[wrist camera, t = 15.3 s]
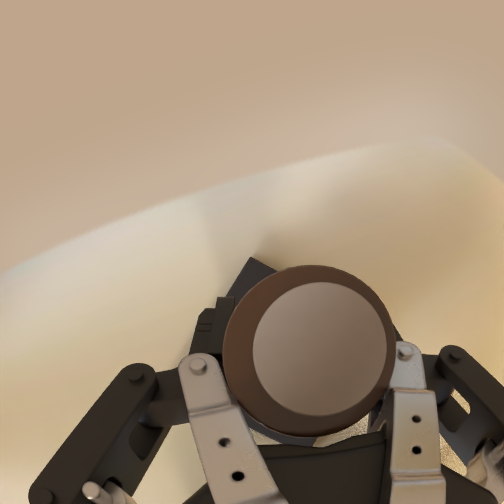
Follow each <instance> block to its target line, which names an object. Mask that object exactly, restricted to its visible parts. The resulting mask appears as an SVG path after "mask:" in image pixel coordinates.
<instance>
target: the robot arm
mask: <svg viewBox="0 0 504 504" xmlns="http://www.w3.org/2000/svg"><path fill="white" fill-rule="evenodd" d="M235 308H236V304H235V297H218V298H217V302H216V307H215V308H206V309H205V310H204V311H203V312H202V313H201V314H200V315H199V317H198V321H197V325H196V328H195V332H194V336H193V340H192V344H191V348H190V352H189V356H187V357H185V358H184V359H182V360H181V362H180V363H179V365H178V367H177V368H175V369H172V370H167V371H162V372H156V373H155V371H154V369H153V368H152V367H151V366H149V365H147V364H143V363H135V364H131V365H128V366H126V367H125V368H123V369H122V370H121V371H120V372H119V374H118V375H117V376H116V377H115V379H114V380H113V381H112V382H111V384H110V385H109V386H108V387H107V389H106V390H105V391H104V392H103V393H102V395H101V396H100V397H99V398H98V400H97V401H96V402H95V403H94V405H93V406H92V407H91V408H90V410H89V411H88V412H87V414H86V415H85V416H84V417H83V419H82V420H81V421H80V422H79V424H78V425H77V426H76V427H75V429H74V430H73V431H72V433H71V434H70V435H69V436H68V438H67V439H66V440H65V442H64V443H63V444H62V446H61V447H60V448H59V449H58V451H57V452H56V453H55V455H54V456H53V457H52V459H51V460H50V461H49V463H48V464H47V465H46V467H45V468H44V469H43V471H42V472H41V473H40V475H39V476H38V477H37V479H36V480H35V481H34V483H33V484H32V485H31V487H30V489H29V493H28V498H29V503H30V504H137V503H136V502H135V500H134V499H133V498H132V496H133V494H134V492H135V490H136V489H137V487H138V485H139V483H140V482H141V480H142V478H143V476H144V475H145V473H146V471H147V469H148V468H149V466H150V464H151V462H152V461H153V459H154V457H155V455H156V454H157V452H158V450H159V448H160V446H161V445H162V443H163V441H164V439H165V438H166V436H167V434H168V432H169V430H170V429H171V427H172V426H173V425H178V424H184V423H189V422H190V425H191V429H192V432H193V436H194V439H195V443H196V446H197V450H198V453H199V457H200V460H201V463H202V466H203V470H204V473H205V476H206V479H207V483H206V484H204V485H203V486H202V487H201V488H200V489H199V490H198V491H197V492H196V493H194V494H193V495H192V496H191V497H190V498H189V499H188V500H186V501H185V502H184V503H183V504H501V503H502V502H503V501H504V387H503V386H502V385H501V384H500V383H499V382H498V381H497V380H496V379H495V378H494V377H493V376H492V375H491V374H490V373H489V372H488V371H487V370H486V369H485V368H483V367H482V366H481V365H480V364H479V363H478V362H477V361H476V360H475V359H474V358H473V357H472V356H470V355H469V354H468V353H467V352H466V351H465V350H464V349H462V348H461V347H458V346H455V345H447V346H444V347H443V348H442V349H441V351H440V353H439V355H426V354H421V351H420V349H419V348H418V347H417V346H415V345H414V344H412V343H410V342H405V341H403V339H402V338H401V336H400V334H399V333H398V331H397V329H396V328H395V326H394V325H393V327H394V331H395V337H396V361H395V367H394V371H393V375H392V378H391V380H390V383H389V385H388V387H387V389H386V391H385V393H384V394H383V396H382V398H381V399H380V400H379V402H378V403H377V404H376V406H375V407H374V408H373V409H372V410H371V411H370V412H369V419H368V429H367V434H362V435H357V436H352V437H350V438H347V439H345V440H342V441H340V442H337V443H335V444H332V445H329V446H326V447H310V446H301V445H293V444H277V445H256V443H255V440H254V438H253V436H252V434H251V432H250V429H249V427H248V425H247V423H246V420H245V418H244V416H243V414H242V411H241V409H240V407H239V405H238V403H237V402H235V403H234V401H233V399H232V396H233V394H232V392H231V390H230V388H229V385H228V382H227V379H226V376H225V372H224V367H223V354H222V352H223V340H224V336H225V331H226V328H227V325H228V322H229V320H230V317H231V315H232V314H233V312H234V310H235ZM454 389H456V390H457V391H458V392H459V393H460V395H461V396H462V397H463V398H464V399H465V400H466V401H467V402H468V403H469V405H470V414H468V413H467V412H466V411H465V410H464V409H463V408H462V407H461V405H460V404H459V403H458V402H457V401H456V400H455V399H454V398H453V397H452V396H451V394H452V393H453V391H454ZM439 433H440V434H441V435H442V437H443V438H444V439H445V440H446V442H447V443H448V444H449V445H450V447H451V448H452V449H453V451H454V452H455V453H456V454H457V456H458V457H459V458H460V460H461V461H462V462H463V463H464V465H465V466H466V467H467V474H466V475H465V477H464V476H462V475H460V474H458V473H457V472H455V471H453V470H451V469H450V468H448V467H446V466H445V465H443V464H441V461H440V438H439Z"/></svg>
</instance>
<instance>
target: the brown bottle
mask: <svg viewBox="0 0 504 504" xmlns="http://www.w3.org/2000/svg"><path fill="white" fill-rule="evenodd" d="M222 354H223V367H224V372H225V376H226V379H227V382H228V385H229V388H230V390H231V392H232V394H233V396H234V397H235V399H236V400H237V402H238V403H239V405H240V406H241V407H242V408H243V410H244V411H245V412H246V413H247V414H248V415H249V416H250V417H252V418H253V419H254V420H255V421H257V422H258V423H259V424H261V425H263V426H264V427H266V428H268V429H270V430H272V431H275V432H277V433H280V434H283V435H287V436H291V437H300V438H315V437H321V436H327V435H330V434H334V433H337V432H340V431H342V430H344V429H346V428H348V427H350V426H352V425H353V424H355V423H357V422H358V421H360V420H361V419H362V418H363V417H365V416H366V415H367V414H368V413H369V412H370V411H371V410H372V409H373V408H374V407H375V406H376V404H377V403H378V402H379V400H380V399H381V398H382V396H383V394H384V393H385V391H386V389H387V387H388V385H389V383H390V380H391V378H392V375H393V371H394V367H395V361H396V337H395V331H394V327H393V323H392V321H391V318H390V316H389V313H388V311H387V309H386V308H385V306H384V304H383V302H382V301H381V300H380V298H379V297H378V296H377V294H376V293H375V292H374V291H373V290H372V289H371V288H370V287H369V286H367V285H366V284H365V283H364V282H363V281H361V280H360V279H358V278H356V277H355V276H353V275H351V274H349V273H347V272H345V271H342V270H339V269H336V268H333V267H328V266H322V265H302V266H296V267H291V268H287V269H284V270H281V271H278V272H276V273H274V274H272V275H270V276H268V277H266V278H265V279H263V280H262V281H260V282H259V283H258V284H256V285H255V286H254V287H253V288H252V289H250V290H249V291H248V293H247V294H246V295H245V296H244V297H243V298H242V299H241V301H240V302H239V304H238V305H237V306H236V308H235V310H234V312H233V314H232V315H231V317H230V320H229V322H228V325H227V328H226V331H225V336H224V340H223V352H222Z"/></svg>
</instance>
